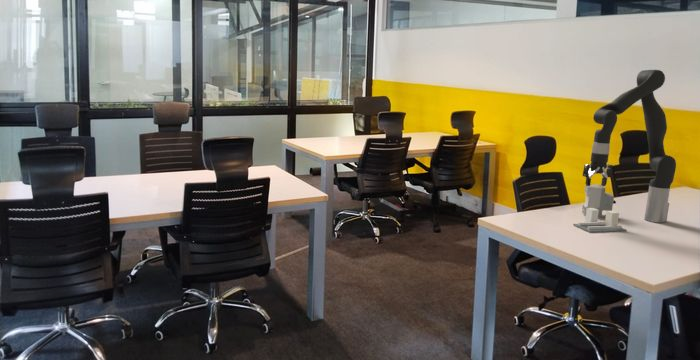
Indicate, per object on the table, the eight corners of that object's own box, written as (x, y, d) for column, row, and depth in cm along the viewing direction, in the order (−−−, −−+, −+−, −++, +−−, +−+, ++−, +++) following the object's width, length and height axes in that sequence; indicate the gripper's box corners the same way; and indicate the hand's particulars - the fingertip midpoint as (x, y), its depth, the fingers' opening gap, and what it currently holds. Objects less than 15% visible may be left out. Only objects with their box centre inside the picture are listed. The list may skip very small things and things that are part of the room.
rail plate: (609, 224, 293) (611, 208, 291) (626, 231, 282) (628, 215, 280) (573, 225, 287) (575, 209, 286) (589, 232, 276) (591, 216, 274)
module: (590, 221, 297) (592, 207, 295) (596, 224, 292) (598, 210, 291) (583, 221, 296) (585, 207, 294) (590, 224, 291) (592, 210, 290)
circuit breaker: (614, 218, 305) (618, 189, 302) (584, 215, 307) (588, 186, 304) (611, 215, 312) (615, 186, 309) (581, 212, 314) (585, 183, 311)
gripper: (607, 151, 292) (603, 184, 295) (582, 150, 288) (577, 184, 291) (618, 153, 285) (613, 187, 288) (592, 153, 281) (587, 187, 284)
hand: (595, 185), depth 290 cm, fingers open, 8 cm apart
